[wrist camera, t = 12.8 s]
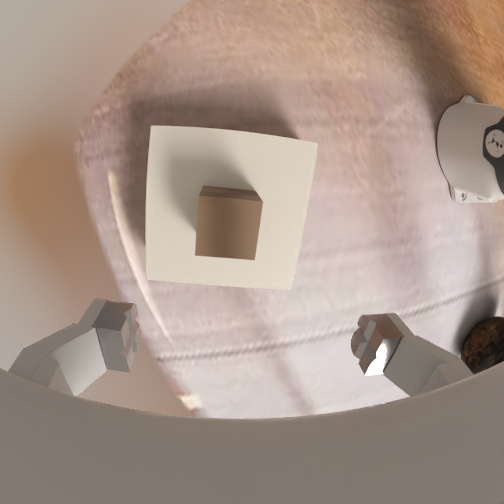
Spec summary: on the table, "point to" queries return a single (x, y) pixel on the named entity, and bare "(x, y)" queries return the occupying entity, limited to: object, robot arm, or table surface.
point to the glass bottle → (484, 345)
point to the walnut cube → (228, 223)
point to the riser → (227, 176)
